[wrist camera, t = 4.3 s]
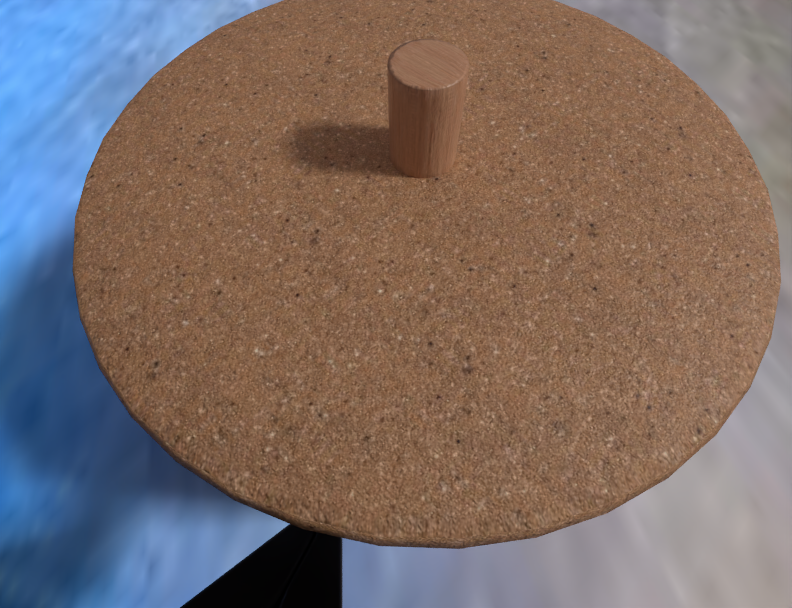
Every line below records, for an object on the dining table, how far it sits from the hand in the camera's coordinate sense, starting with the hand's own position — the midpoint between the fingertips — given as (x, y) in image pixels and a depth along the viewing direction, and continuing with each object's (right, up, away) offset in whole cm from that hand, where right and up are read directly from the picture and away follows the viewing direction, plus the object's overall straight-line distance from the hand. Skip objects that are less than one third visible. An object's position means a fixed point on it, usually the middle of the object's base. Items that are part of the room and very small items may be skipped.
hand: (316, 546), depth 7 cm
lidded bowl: (+2, +2, +9) cm, 10 cm away
